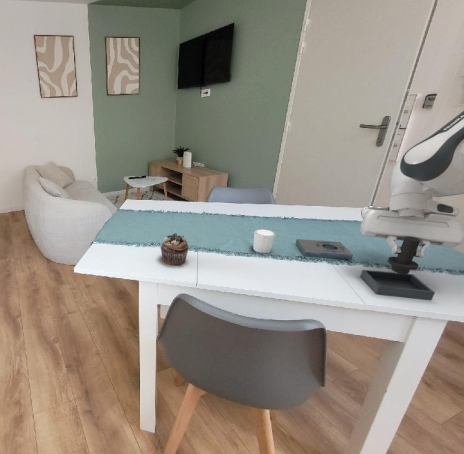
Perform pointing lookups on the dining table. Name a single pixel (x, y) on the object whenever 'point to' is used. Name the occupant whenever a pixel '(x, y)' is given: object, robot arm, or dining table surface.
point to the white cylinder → (263, 240)
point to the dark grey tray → (396, 284)
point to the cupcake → (174, 249)
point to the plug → (405, 256)
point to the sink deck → (324, 249)
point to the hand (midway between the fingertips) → (407, 254)
